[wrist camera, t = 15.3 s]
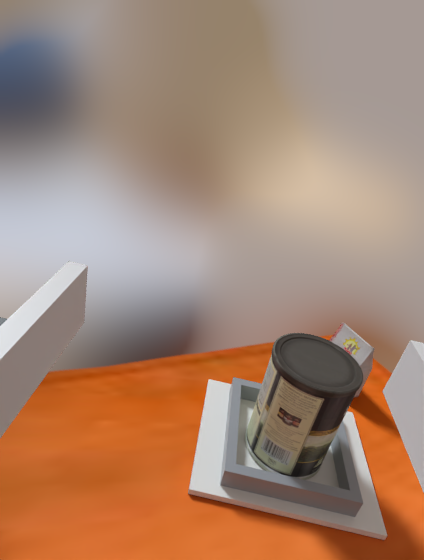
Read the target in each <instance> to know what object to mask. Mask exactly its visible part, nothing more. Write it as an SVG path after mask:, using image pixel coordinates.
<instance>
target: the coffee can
mask: <svg viewBox="0 0 424 560" xmlns="http://www.w3.org/2000/svg"><path fill="white" fill-rule="evenodd" d="M362 382H363V372H362V369H361V367H360V365H359V364H358V362H357V361H356V360H355V359H354V358H353V357H352V356H351V355H350V354H349V353H348V352H347V351H345V350H344V349H343V348H341V347H340V346H338V345H336V344H334V343H333V342H331V341H329V340H326V339H324V338H321V337H318V336H314V335H310V334H304V333H292V334H287V335H283V336H281V337H280V338H278V339H277V340H276V341H275V343H274V345H273V349H272V355H271V358H270V361H269V364H268V367H267V370H266V373H265V377H264V380H263V382H262V385H261V388H260V392H259V394H258V397H257V401H256V404H255V407H254V410H253V413H252V416H251V419H250V422H249V424H248V426H247V428H246V432H245V440H246V445H247V448H248V451H249V453H250V454H251V456H252V457H253V459H254V460H255V461H256V463H257V464H259V465H260V466H261V467H262V468H263V469H265V470H266V471H269V472H273V473H277V474H282V475H286V476H290V477H294V478H299V479H303V480H306V479H309V478H311V477H313V476H314V475H316V474H317V473H318V471H319V470H320V468H321V466H322V462H323V460H324V458H325V456H326V454H327V452H328V449H329V447H330V445H331V443H332V441H333V439H334V437H335V435H336V433H337V431H338V429H339V426H340V424H341V422H342V420H343V418H344V416H345V414H346V412H347V410H348V408H349V406H350V404H351V402H352V400H353V398H354V396H355V394H356V392H357V391H358V390H359V388H360V386H361V385H362Z"/></svg>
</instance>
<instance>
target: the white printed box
mask: <svg viewBox="0 0 424 560" xmlns="http://www.w3.org/2000/svg"><path fill="white" fill-rule="evenodd" d="M329 341H331V342H333V343H334V344H336V345H338V346H340V347H341V348H343V349H344V350H345V351H347V352H348V353H349V354H350V355H351V356H352V357H353V358H354V359H355V360H356V361H357V362H358V364H359V365H360V367H361V369H362V372H363V382H362V385H361V386H360V388H359V390H358V391H357V392H356V394H355V396H354V397H358V396H359V394H360V392H361V390H362V388H363V386H364V384H365V382H366V380H367V378H368V376H369V374H370V372H371V370H372V361H373V352H374V348H373V347H372V346H370V345H369V344H368V343H367V342H366V341H364V340H363V339H362V338H361V337H360V336H358V335H357V334H356V333H355V332H354V331H353V330H352V329H350V328H349V327H348V326H347V325H346V324H344V323H342V324H341V325H340V327H339V328H338V330H337V331H336V332H335V334H334V335H333V336H332V338H331V339H330V340H329Z"/></svg>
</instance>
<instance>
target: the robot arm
mask: <svg viewBox="0 0 424 560" xmlns="http://www.w3.org/2000/svg"><path fill="white" fill-rule="evenodd" d="M87 268H88V266H87V265H83V264H78V263H74V262H68V263H67V264H65V265H64V266H63V267H62V268H61V269H60V270H59V271H58V272H57V273H56V274H55V275H54V276H53V277H52V278H51V279H50V280H49V281H47V282H46V283H45V284H44V285H43V286H42V287H41V288H40V289H39V290H38V291H37V292H36V293H35V294H34V295H33V296H32V297H31V298H29V299H28V300H27V301H26V302H25V303H24V304H23V305H22V306H21V307H20V308H19V309H18V310H17V311H16V312H15V313H14V314H13V315H11V316H10V317H9V318H8V319H5V318H1V317H0V438H1V437H2V435H3V434H4V432H5V431H6V430H7V428H8V427H9V426H10V424H11V423H12V421H13V420H14V419H15V417H16V416H17V415H18V413H19V412H20V410H21V409H22V408H23V406H24V405H25V403H26V402H27V401H28V399H29V398H30V397H31V395H32V394H33V392H34V391H35V390H36V388H37V387H38V386H39V384H40V383H41V381H42V380H43V379H44V377H45V376H46V374H47V373H48V372H49V370H50V369H51V368H52V366H53V365H54V363H55V362H56V361H57V359H58V358H59V356H60V355H61V354H62V352H63V351H64V349H65V348H66V347H67V345H68V344H69V343H70V341H71V340H72V338H73V337H74V336H75V334H76V333H77V332H78V330H79V329H80V327H81V326H82V325H83V323H84V317H85V301H86V300H85V299H86V284H87V283H86V282H87ZM383 393H384V396H385V398H386V401H387V403H388V406H389V408H390V411H391V413H392V416H393V418H394V421H395V423H396V426H397V428H398V430H399V433H400V435H401V438H402V440H403V443H404V445H405V448H406V450H407V453H408V455H409V458H410V460H411V463H412V465H413V467H414V470H415V472H416V475H417V477H418V480H419V482H420V485H421V487H422V490H423V492H424V343H421V342H416V341H412V340H410V342H409V344H408V346H407V348H406V349H405V351H404V353H403V355H402V357H401V358H400V360H399V362H398V364H397V366H396V368H395V370H394V371H393V373H392V375H391V377H390V379H389V380H388V382H387V384H386V386H385V388H384V390H383Z"/></svg>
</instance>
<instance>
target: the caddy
mask: <svg viewBox="0 0 424 560" xmlns="http://www.w3.org/2000/svg"><path fill="white" fill-rule="evenodd" d="M261 385H262V384H260V383H256V382H252V381H248V380H243V379H239V378H235V377H233V381H232V384H227V383H223V382H219V381H215V380H210V379H209V381H208V385H207V391H206V396H205V402H204V407H203V413H202V419H201V424H200V430H199V435H198V441H197V446H196V452H195V458H194V463H193V469H192V474H191V480H190V486H189V491H188V494H192V495H196V496H200V497H204V498H208V499H213V500H217V501H221V502H225V503H230V504H234V505H238V506H242V507H246V508H251V509H255V510H259V511H263V512H268V513H272V514H276V515H280V516H284V517H289V518H293V519H297V520H301V521H306V522H310V523H314V524H318V525H323V526H327V527H331V528H335V529H339V530H344V531H348V532H352V533H356V534H361V535H365V536H369V537H373V538H377V539H382V540H385V539H386V537H387V533H386V529H385V525H384V522H383V518H382V515H381V511H380V508H379V504H378V501H377V497H376V494H375V490H374V487H373V483H372V479H371V476H370V472H369V469H368V465H367V462H366V458H365V455H364V451H363V448H362V444H361V440H360V437H359V433H358V430H357V426H356V423H355V419H354V416H353V413H352V412H348V411H347V412H346V414H345V416H344V418H343V420H342V422H341V424H340V426H339V429H338V431H337V433H336V435H335V437H334V439H333V441H332V443H331V445H330V447H329V449H328V452H327V454H326V456H325V458H324V460H323V462H322V466H321V468H320V470H319V471H318V473H317V474H316V475H314V476H313V477H311V478H309V479H306V480H303V479H299V478H294V477H290V476H286V475H282V474H277V473H273V472H269V471H266V470H265V469H263V468H262V467H261V466H260V465H259V464H257V463H256V461H255V460H254V459H253V457H252V456H251V454H250V453H249V451H248V448H247V445H246V440H245V432H246V428H247V426H248V424H249V422H250V419H251V416H252V413H253V410H254V407H255V404H256V401H257V397H258V394H259V392H260V388H261Z"/></svg>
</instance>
